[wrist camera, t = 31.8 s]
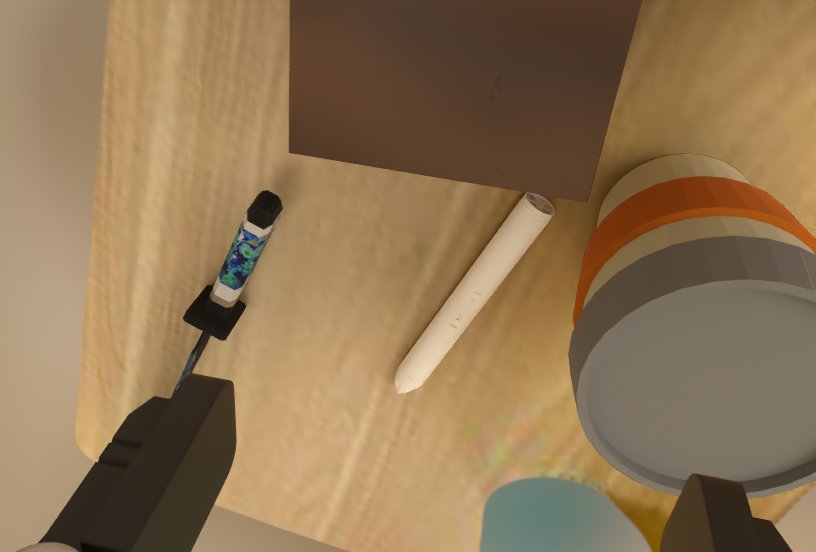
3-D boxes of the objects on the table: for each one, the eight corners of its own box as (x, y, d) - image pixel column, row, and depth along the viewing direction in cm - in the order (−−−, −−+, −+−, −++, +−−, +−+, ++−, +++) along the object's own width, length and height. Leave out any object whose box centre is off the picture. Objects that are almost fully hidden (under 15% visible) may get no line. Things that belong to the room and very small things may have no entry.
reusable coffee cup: (584, 325, 47) (594, 512, 35) (547, 148, 41) (543, 299, 29) (797, 297, 43) (893, 496, 31) (792, 98, 37) (908, 247, 25)
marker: (412, 389, 53) (407, 412, 51) (387, 376, 52) (381, 398, 50) (555, 203, 43) (555, 222, 41) (525, 185, 43) (524, 204, 41)
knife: (278, 160, 43) (248, 199, 39) (322, 188, 43) (296, 230, 40) (137, 409, 62) (108, 451, 58) (168, 427, 62) (141, 469, 59)
